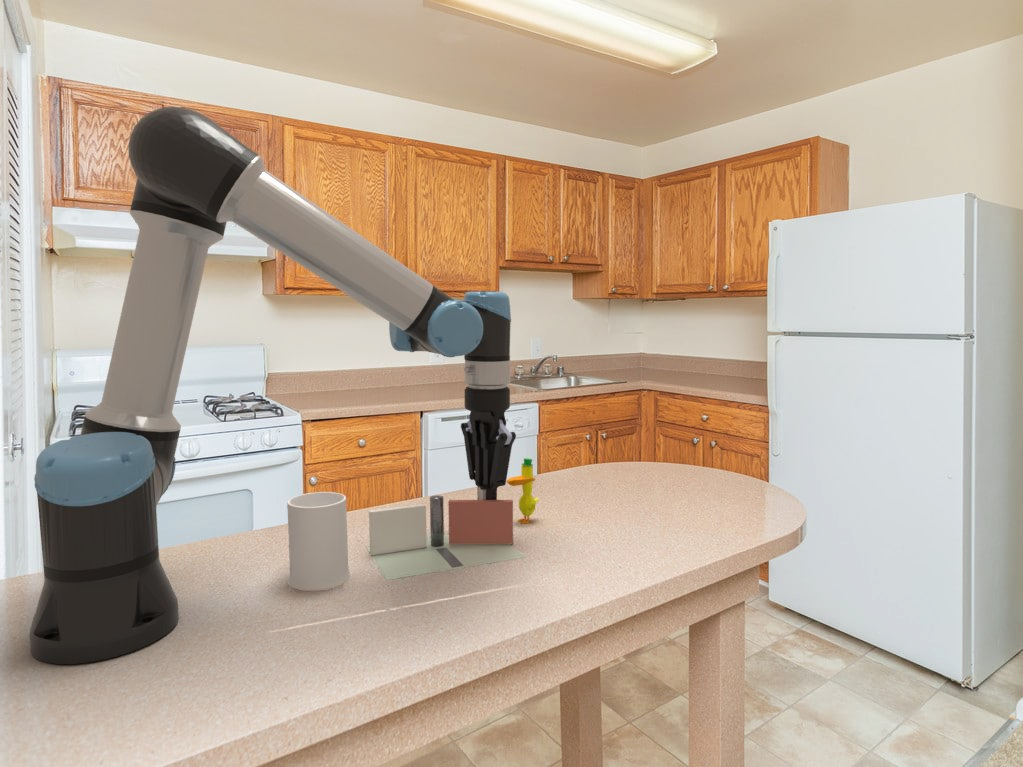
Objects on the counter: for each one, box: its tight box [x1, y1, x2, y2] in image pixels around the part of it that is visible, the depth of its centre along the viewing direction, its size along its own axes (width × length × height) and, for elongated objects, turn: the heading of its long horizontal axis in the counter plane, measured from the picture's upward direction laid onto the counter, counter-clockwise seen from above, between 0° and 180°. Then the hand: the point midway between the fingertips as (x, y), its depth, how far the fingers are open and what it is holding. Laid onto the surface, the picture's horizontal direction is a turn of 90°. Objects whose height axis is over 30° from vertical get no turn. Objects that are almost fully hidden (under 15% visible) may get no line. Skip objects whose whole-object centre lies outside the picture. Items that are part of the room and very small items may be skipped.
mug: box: [286, 491, 351, 592], centre depth 94 cm, size 12×8×12 cm
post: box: [429, 494, 445, 547], centre depth 106 cm, size 2×2×8 cm
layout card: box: [365, 533, 526, 581], centre depth 104 cm, size 22×15×1 cm
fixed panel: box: [368, 503, 427, 557], centre depth 104 cm, size 9×1×7 cm, turn 113°
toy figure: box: [506, 457, 540, 525], centre depth 118 cm, size 7×4×12 cm, turn 121°
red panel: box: [448, 499, 514, 545], centre depth 106 cm, size 10×1×7 cm, turn 89°
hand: (487, 524), depth 109 cm, fingers closed
